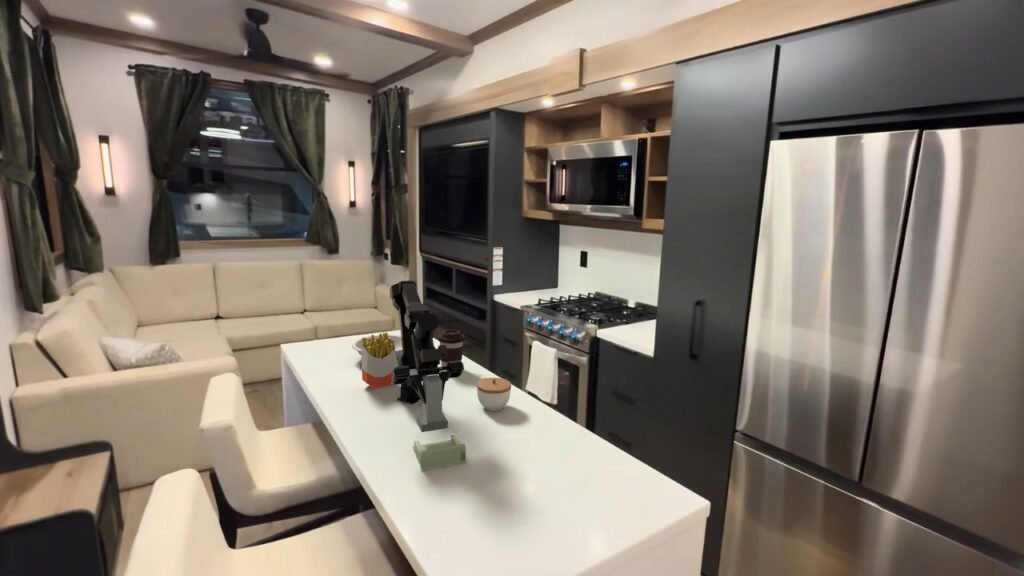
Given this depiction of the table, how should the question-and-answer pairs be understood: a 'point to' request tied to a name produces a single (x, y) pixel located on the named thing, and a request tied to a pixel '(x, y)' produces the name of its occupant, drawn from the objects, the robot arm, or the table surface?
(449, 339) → the coffee cup
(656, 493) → the table surface
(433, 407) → the grey pillar on base
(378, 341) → the french fries container
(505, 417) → the table surface
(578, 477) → the table surface
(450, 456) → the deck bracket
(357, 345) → the soup bowl
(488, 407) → the lidded jar
